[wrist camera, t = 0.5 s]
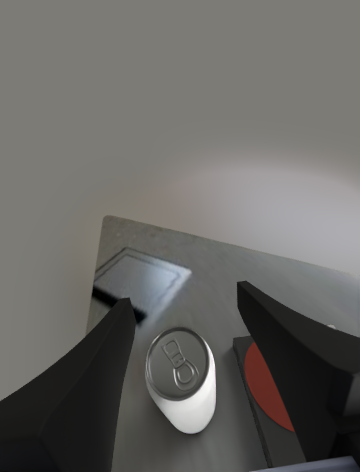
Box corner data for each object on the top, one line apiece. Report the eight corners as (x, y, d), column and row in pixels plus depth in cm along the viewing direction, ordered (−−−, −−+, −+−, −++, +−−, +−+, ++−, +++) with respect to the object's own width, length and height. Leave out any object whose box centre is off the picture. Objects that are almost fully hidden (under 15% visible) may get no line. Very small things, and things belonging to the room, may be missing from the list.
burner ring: (357, 428, 17) (358, 427, 17) (264, 440, 17) (264, 440, 17) (299, 332, 24) (299, 331, 24) (234, 341, 24) (234, 340, 24)
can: (182, 452, 19) (160, 434, 12) (156, 387, 23) (129, 347, 16) (227, 406, 21) (232, 369, 14) (195, 355, 26) (187, 309, 19)
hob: (569, 636, 11) (627, 662, 9) (326, 665, 11) (343, 695, 10) (333, 331, 26) (340, 322, 25) (232, 345, 26) (233, 337, 25)
